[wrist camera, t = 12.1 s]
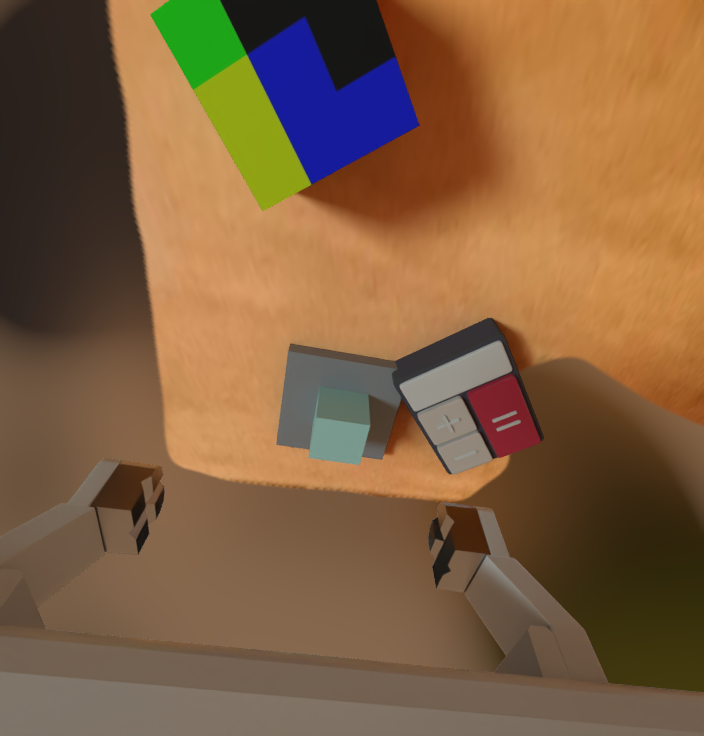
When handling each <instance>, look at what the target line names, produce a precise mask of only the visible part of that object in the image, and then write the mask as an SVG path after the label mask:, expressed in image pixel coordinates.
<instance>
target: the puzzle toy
mask: <svg viewBox="0 0 704 736" xmlns="http://www.w3.org/2000/svg"><path fill="white" fill-rule="evenodd" d="M150 15H151V17H152V19H153V20H154V22H155V24H156V26H157V27H158V29H159V31H160V33H161V34H162V36H163V38H164V40H165V41H166V43H167V45H168V47H169V48H170V50H171V52H172V54H173V55H174V57H175V59H176V61H177V62H178V64H179V66H180V68H181V69H182V71H183V73H184V75H185V76H186V78H187V80H188V82H189V83H190V85H191V87H192V89H193V90H194V92H195V94H196V96H197V97H198V99H199V101H200V103H201V104H202V106H203V108H204V110H205V111H206V113H207V115H208V117H209V118H210V120H211V122H212V124H213V125H214V127H215V129H216V131H217V132H218V134H219V136H220V138H221V139H222V141H223V143H224V145H225V146H226V148H227V150H228V152H229V153H230V155H231V157H232V159H233V160H234V162H235V164H236V165H237V167H238V169H239V171H240V172H241V174H242V176H243V178H244V179H245V181H246V183H247V185H248V186H249V188H250V190H251V192H252V193H253V195H254V197H255V199H256V200H257V202H258V204H259V206H260V207H261V209H262V211H264V210H266V209H268V208H270V207H272V206H273V205H275V204H277V203H279V202H281V201H283V200H284V199H286V198H288V197H290V196H292V195H293V194H295V193H297V192H299V191H301V190H303V189H304V188H306V187H308V186H310V185H312V184H314V183H315V182H317V181H319V180H321V179H323V178H325V177H326V176H328V175H330V174H332V173H334V172H335V171H337V170H339V169H341V168H343V167H345V166H346V165H348V164H350V163H352V162H354V161H356V160H357V159H359V158H361V157H363V156H365V155H367V154H368V153H370V152H372V151H374V150H376V149H377V148H379V147H381V146H383V145H385V144H387V143H388V142H390V141H392V140H394V139H396V138H398V137H399V136H401V135H403V134H405V133H407V132H409V131H410V130H412V129H414V128H416V127H418V126H419V123H418V120H417V117H416V114H415V111H414V108H413V105H412V102H411V99H410V97H409V94H408V91H407V88H406V85H405V82H404V79H403V76H402V73H401V70H400V68H399V65H398V62H397V59H396V56H395V53H394V50H393V47H392V44H391V42H390V39H389V36H388V33H387V30H386V27H385V24H384V21H383V18H382V15H381V13H380V10H379V7H378V4H377V1H376V0H169V1H168V2H167V3H165V4H164V5H162V6H161V7H160V8H158V9H157V10H156V11H154V12H153V13H152V14H150Z"/></svg>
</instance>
